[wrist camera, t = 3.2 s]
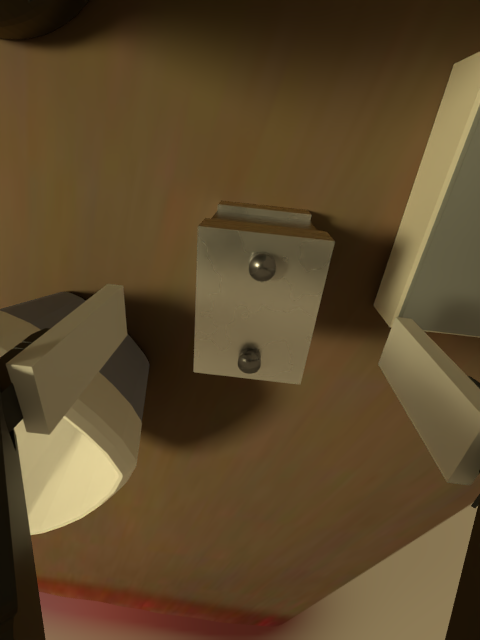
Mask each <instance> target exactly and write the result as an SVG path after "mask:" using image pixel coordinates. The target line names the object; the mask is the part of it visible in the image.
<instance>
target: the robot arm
mask: <svg viewBox="0 0 480 640" xmlns="http://www.w3.org/2000/svg"><path fill="white" fill-rule="evenodd" d="M88 1H89V0H0V38H3V39H27V38H34V37H38V36H42V35H44V34H47V33H50V32H52V31H54V30H56V29H58V28H60V27H61V26H63V25H64V24H66V23H67V22H68V21H70V20H71V19H72V18H73V17H74V16H76V15H77V13H78V12H79V11H80V10H81V9H82V8H83V7H84V6H85V5H86V3H87V2H88ZM126 336H127V325H126V312H125V300H124V288H123V286H121V285H113V284H107V285H106V286H104V287H103V288H102V289H100V290H99V291H98V292H97V293H95V294H94V295H93V296H92V297H90V298H89V299H88V300H86V301H85V302H84V303H83V304H81V305H80V306H79V307H78V308H76V309H75V310H74V311H72V312H71V313H70V314H69V315H67V316H66V317H65V318H63V319H62V320H61V321H60V322H58V323H57V324H56V325H55V326H53V327H52V328H51V329H50V328H45V329H42V330H40V331H37V332H35V333H33V334H31V335H30V336H28V337H27V338H26V339H24V340H23V341H22V343H19V344H18V345H16V346H15V347H14V349H11V350H9V351H8V352H7V353H5V354H4V355H3V356H1V357H0V640H45V633H44V626H43V619H42V612H41V605H40V598H39V591H38V584H37V577H36V570H35V563H34V556H33V549H32V542H31V535H30V528H29V521H28V514H27V507H26V500H25V493H24V486H23V479H22V472H21V465H20V458H19V451H18V444H17V437H16V433H15V430H14V428H15V427H16V426H17V424H18V423H19V422H20V421H21V420H22V419H23V422H24V425H25V429H26V432H29V433H37V434H46V435H50V434H51V432H52V431H53V430H54V429H55V427H56V426H57V425H58V423H59V422H60V421H61V420H62V418H63V417H64V416H65V414H66V413H67V412H68V411H69V409H70V408H71V407H72V405H73V404H74V403H75V402H76V400H77V399H78V398H79V396H80V395H81V394H82V393H83V391H84V390H85V389H86V387H87V386H88V385H89V384H90V382H91V381H92V380H93V379H94V377H95V376H96V375H97V373H98V372H99V371H100V370H101V368H102V367H103V366H104V364H105V363H106V362H107V361H108V359H109V358H110V357H111V355H112V354H113V353H114V352H115V350H116V349H117V348H118V346H119V345H120V344H121V343H122V341H123V340H124V339H125V337H126ZM378 365H379V367H380V368H381V370H382V372H383V373H384V375H385V377H386V379H387V380H388V382H389V384H390V385H391V387H392V389H393V391H394V392H395V394H396V396H397V397H398V399H399V401H400V403H401V404H402V406H403V408H404V409H405V411H406V413H407V415H408V416H409V418H410V420H411V421H412V423H413V425H414V427H415V428H416V430H417V432H418V433H419V435H420V437H421V439H422V440H423V442H424V444H425V445H426V447H427V449H428V451H429V452H430V454H431V456H432V457H433V459H434V461H435V463H436V464H437V466H438V468H439V469H440V471H441V473H442V475H443V476H444V478H445V480H446V481H447V483H455V484H464V485H471V484H472V483H473V481H474V480H475V478H476V477H477V475H478V474H479V473H480V383H479V382H478V381H476V380H475V379H473V378H472V377H470V376H467V375H466V374H465V373H464V372H463V371H462V370H461V369H460V368H459V367H458V366H457V365H456V364H455V363H454V362H453V361H452V360H451V359H450V358H449V357H448V356H447V355H446V354H445V353H444V352H443V351H442V349H441V348H440V347H439V346H438V345H437V344H436V343H435V342H434V341H433V340H432V339H431V338H430V337H429V336H428V335H427V334H426V333H425V332H424V331H423V330H422V329H421V328H420V327H419V326H418V325H417V324H416V323H415V322H414V321H413V320H412V319H409V318H401V317H395V320H394V323H393V325H392V328H391V331H390V333H389V336H388V339H387V342H386V344H385V347H384V350H383V352H382V355H381V358H380V360H379V363H378ZM471 506H472V507H473V508H476V507H477V506H478V509H477V512H476V517H475V521H474V525H473V529H472V533H471V537H470V541H469V545H468V549H467V553H466V557H465V561H464V565H463V569H462V573H461V578H460V582H459V586H458V590H457V594H456V598H455V602H454V606H453V610H452V614H451V618H450V622H449V626H448V630H447V634H446V638H445V640H480V494H479V496H478V497H477V498H476V500H475V501H474V503H473V504H472V505H471Z"/></svg>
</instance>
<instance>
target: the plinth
mask: <svg viewBox="0 0 480 640" xmlns="http://www.w3.org/2000/svg"><path fill="white" fill-rule="evenodd" d="M373 306H374V307H375V308H376V310H377V311H378V312H379V314H380V315H381V316H382V318H383V319H384V320H385V322H386V323H387V324H388V326H389V327H392V325H393V323H394V320H395V317H401V318H409V319H412V320H413V321H414V322H415V323H416V324H417V325H418V326H419V327H420V328H421V329H422V330H423V331H428V332H437V333H446V334H454V335H463V336H472V337H480V52H478V53H476V54H474V55H471V56H469V57H467V58H465V59H463V60H461V61H459V62H457V63H455V64H454V65H453V68H452V71H451V74H450V77H449V80H448V83H447V86H446V89H445V92H444V95H443V98H442V101H441V104H440V107H439V110H438V113H437V116H436V119H435V122H434V125H433V128H432V131H431V134H430V137H429V140H428V143H427V146H426V149H425V152H424V155H423V158H422V161H421V164H420V167H419V170H418V173H417V176H416V179H415V182H414V185H413V188H412V191H411V194H410V197H409V200H408V203H407V206H406V209H405V212H404V215H403V218H402V221H401V224H400V227H399V230H398V233H397V236H396V239H395V242H394V245H393V248H392V251H391V254H390V257H389V260H388V263H387V266H386V269H385V272H384V275H383V278H382V281H381V284H380V287H379V290H378V293H377V296H376V299H375V302H374V305H373Z"/></svg>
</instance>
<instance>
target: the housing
mask: <svg viewBox="0 0 480 640" xmlns="http://www.w3.org/2000/svg"><path fill="white" fill-rule="evenodd" d="M311 216H312V215H311V213H310V212H309V211H308V210H303V209H294V208H285V207H276V206H267V205H258V204H249V203H240V202H231V201H222V200H221V202H220V203H219V204H218V211H217V212H216V213H215V215H214V216H213V217H212V218H211V219H210V218H205V219H204V220H203V221H202V222H201V223H200V224H199V225H198V243H197V274H196V306H195V338H194V370H193V372H196V373H205V374H213V375H222V376H231V377H239V378H248V379H257V380H265V381H274V382H282V383H291V384H301V380H302V376H303V371H304V367H305V363H306V359H307V355H308V351H309V347H310V343H311V339H312V334H313V330H314V326H315V322H316V318H317V314H318V310H319V306H320V301H321V297H322V293H323V289H324V285H325V281H326V277H327V273H328V268H329V264H330V260H331V256H332V252H333V248H334V244H335V241H334V240H333V238H332V237H331V236H330V235H329V234H328V233H327V232H326V231H318V230H317V229H316V228H315V227H314V225H313V224H312V223H311Z"/></svg>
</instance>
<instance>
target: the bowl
mask: <svg viewBox="0 0 480 640" xmlns="http://www.w3.org/2000/svg"><path fill="white" fill-rule="evenodd" d="M84 302H85V300H84V299H82V298H81V297H78V296H76V295H74V294H72V293H69V292H60V293H56V294H52V295H49V296H45V297H42V298H38V299H35V300H31V301H27V302H24V303H20V304H17V305H13V306H9V307H6V308H2V309H0V357H1V356H3V355H4V354H5V353H7V352H8V351H9V350H11V349H14V347H15V346H16V345H18V344H19V343H22V341H23V340H24V339H26V338H27V337H28V336H30V335H31V334H33V333H35V332H37V331H40V330H42V329H45V328H50V329H51V328H52V327H53V326H55V325H56V324H57V323H58V322H60V321H61V320H62V319H63V318H65V317H66V316H67V315H69V314H70V313H71V312H72V311H74V310H75V309H76V308H78V307H79V306H80V305H81V304H83V303H84ZM149 366H150V365H149V362H148V360H147V358H146V356H145V354H144V353H143V352H142V351H141V349H140V348H139V347H138V346H137V344H136V343H135V342H134V340H133V339H132V338H131V337H130V336H129V335H128V334H127V336H126V337H125V339H124V340H123V341H122V343H121V344H120V345H119V346H118V348H117V349H116V350H115V352H114V353H113V354H112V355H111V357H110V358H109V359H108V361H107V362H106V363H105V364H104V366H103V367H102V368H101V370H100V371H99V372H98V373H97V375H96V376H95V377H94V379H93V380H92V381H91V382H90V384H89V385H88V386H87V387H86V389H85V390H84V391H83V393H82V394H81V395H80V396H79V398H78V399H77V400H76V402H75V403H74V404H73V405H72V407H71V408H70V409H69V411H68V412H67V413H66V414H65V416H64V417H63V418H62V420H61V421H60V422H59V423H58V425H57V426H56V427H55V429H54V430H53V431H52V432H51V434H50V435H46V434H37V433H29V432H26V429H25V425H24V422H23V419H22V420H21V421H20V422H19V423H18V424H17V426H16V427H15V428H14V430H15V433H16V437H17V444H18V451H19V458H20V465H21V472H22V479H23V486H24V493H25V500H26V507H27V514H28V521H29V528H30V535H33V534H40V533H45V532H48V531H51V530H53V529H56V528H59V527H62V526H65V525H67V524H69V523H72V522H74V521H76V520H78V519H81V518H83V517H84V516H86V515H87V514H89V513H90V512H91V511H93V510H94V509H96V508H97V507H99V506H100V505H102V504H103V503H104V502H106V501H107V500H108V499H109V498H110V497H111V496H112V495H114V494H115V493H116V492H117V491H118V490H119V489H120V488H121V487H122V486H123V485H124V484H125V483H126V482H127V481H128V479H129V478H130V476H131V474H132V472H133V471H134V469H135V467H136V464H137V458H138V450H139V443H140V436H141V428H142V417H143V410H144V402H145V395H146V388H147V380H148V373H149Z"/></svg>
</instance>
